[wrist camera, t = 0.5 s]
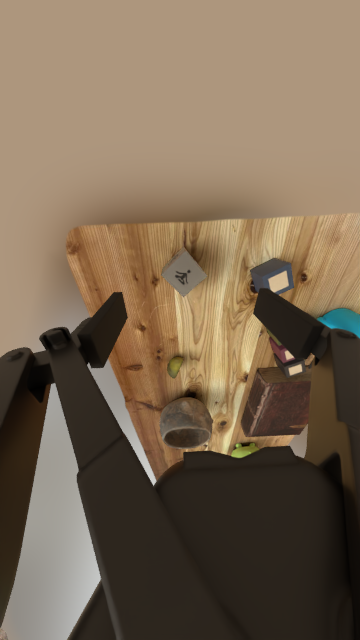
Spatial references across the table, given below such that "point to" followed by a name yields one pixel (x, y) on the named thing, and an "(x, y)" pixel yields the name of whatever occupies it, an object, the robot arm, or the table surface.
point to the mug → (342, 320)
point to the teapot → (244, 450)
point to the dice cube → (183, 272)
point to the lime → (174, 366)
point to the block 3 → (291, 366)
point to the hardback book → (277, 404)
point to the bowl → (185, 423)
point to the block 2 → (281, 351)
